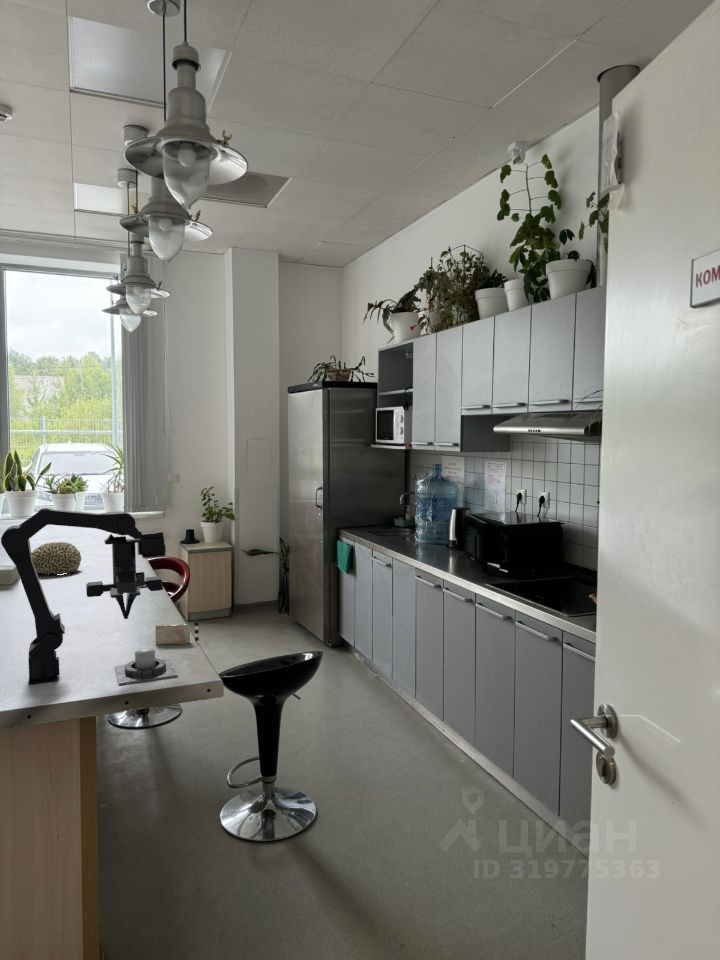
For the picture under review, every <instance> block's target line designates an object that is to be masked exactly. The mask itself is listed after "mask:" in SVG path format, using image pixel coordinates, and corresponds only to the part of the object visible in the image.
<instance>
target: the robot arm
mask: <svg viewBox="0 0 720 960" xmlns="http://www.w3.org/2000/svg"><path fill="white" fill-rule="evenodd" d="M46 526H61V527H75V528H87V529H97V530H101V531H104V532H107V533H110V534H109V535H108V536H107V538H106V539H104V545H111V546H112V547H111V552H112V554H111V558H112V582H113V583H108V584H106V583H105V584H104V583H103V581H101V580H100V581H89V582H87V583H86V585H85V589H86V591H85V594H86V597H87V598H95V597H101V596H102V595H103V594H104V592H107V593H108V592H109V596H110V598H111V599H115V600H116V602H117V603H118V605H119V609H120V611H121V614H122V616H123V619H124V620H128V619H129V615H130V612H131V609H132V607H133V604H134V601H135V599H136V598H137V597H138V596H141V589H148V590H149V591H151V592H154V591H155V592H157V591H158V592H159V591H163V590H164V581H163V579H162V578H161V577H160V576H147V577H145V572H144V571H141V572H140V571H139V572H137V559H136V557H137V556H136V548H137V555H138V556H140V557H142V559H143V560H144V559H152V558H153V559H154V558H165V557H166V544H165V536H164V532H163V531H156V532H143V533H142V530H141V529H139V528H137V526H136V519H135V518H134V516H133V515H131V513H129V512H127V511H123V510H122V511H121V510H120V511H109V512H100V513H99V512H98V513H95V512H87V511H86V512H84V511H73V510H61V509H53V508H52V509H51V508H49V507H42V508H40V509H39V510H37V512H36V513H34V514H33V515H32V516H30V517H29V518H27V519H26V520H24V522H21V524H19V525H17V524H15V525H11V526H9V527H7V529H5V530H4V532H3V533H2V535H1V537H0V544H1V546H2V547H3V549H4V551H5V552H6V554H7V555H8V557H9V558H10V560H11V562H12V563H13V564H14V566H15V568H16V571H17V573H18V575H19V578H20V581H21V583H22V586H23V589H24V592H25V595H26V598H27V600H28V603H29V606H30V609H31V611H32V614H33V617H34V623H35V624H34V625H35V633H36V637H35V638H34V639H33V640H32V641H31V642H30V644H29V648H28V657H27V658H28V659H27V660H28V681H27V683H28V685H33V684H39V683H47V682H54V681H58V677H59V676H60V657H59V656H57V649H59V648H60V647H61V645H62V643H63V641H64V635H65V633H66V632H65V631H66V628H65V625H64V624H63V622H62V619H61V613H60V612H58V613H57V614H55V615H54V613H53V611H52V610H51V609H50V605H49V602H48V600H47V597H46V594H45V592H44V589H43V586H42V584H41V581H40V578H39V574H38V573H37V572H36V569H35V567H34V564H33V561H32V556H31V552H32V549H31V541H30V539H31V538H32V537H33V536H35V535H36V534H37V533H39V532H40V531H41V530H42V529H44V528H45V527H46ZM113 534H115V535H119V536H114V535H113ZM126 536H129V537H131V538H133V539H131V538H129V539H128V538H127V537H126ZM136 544H137V547H136ZM124 594H126V602H125V600H124Z"/></svg>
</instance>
